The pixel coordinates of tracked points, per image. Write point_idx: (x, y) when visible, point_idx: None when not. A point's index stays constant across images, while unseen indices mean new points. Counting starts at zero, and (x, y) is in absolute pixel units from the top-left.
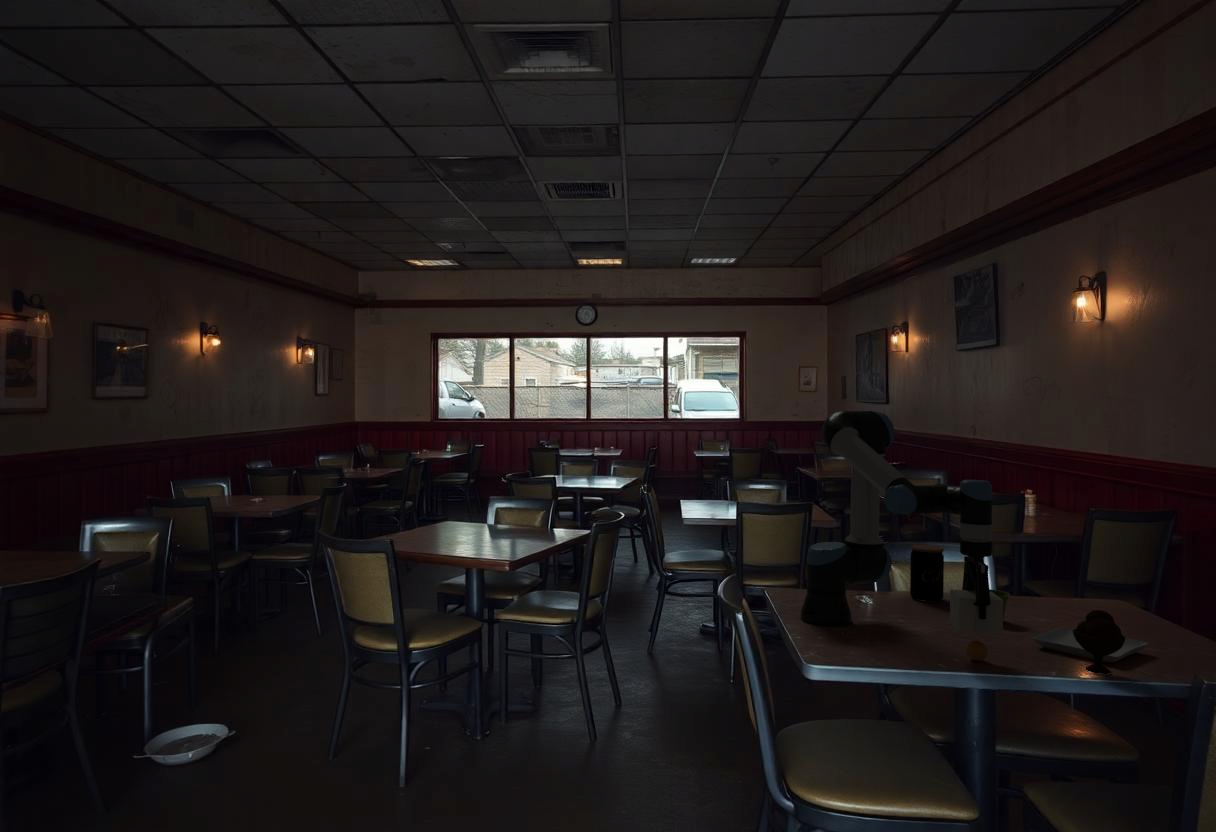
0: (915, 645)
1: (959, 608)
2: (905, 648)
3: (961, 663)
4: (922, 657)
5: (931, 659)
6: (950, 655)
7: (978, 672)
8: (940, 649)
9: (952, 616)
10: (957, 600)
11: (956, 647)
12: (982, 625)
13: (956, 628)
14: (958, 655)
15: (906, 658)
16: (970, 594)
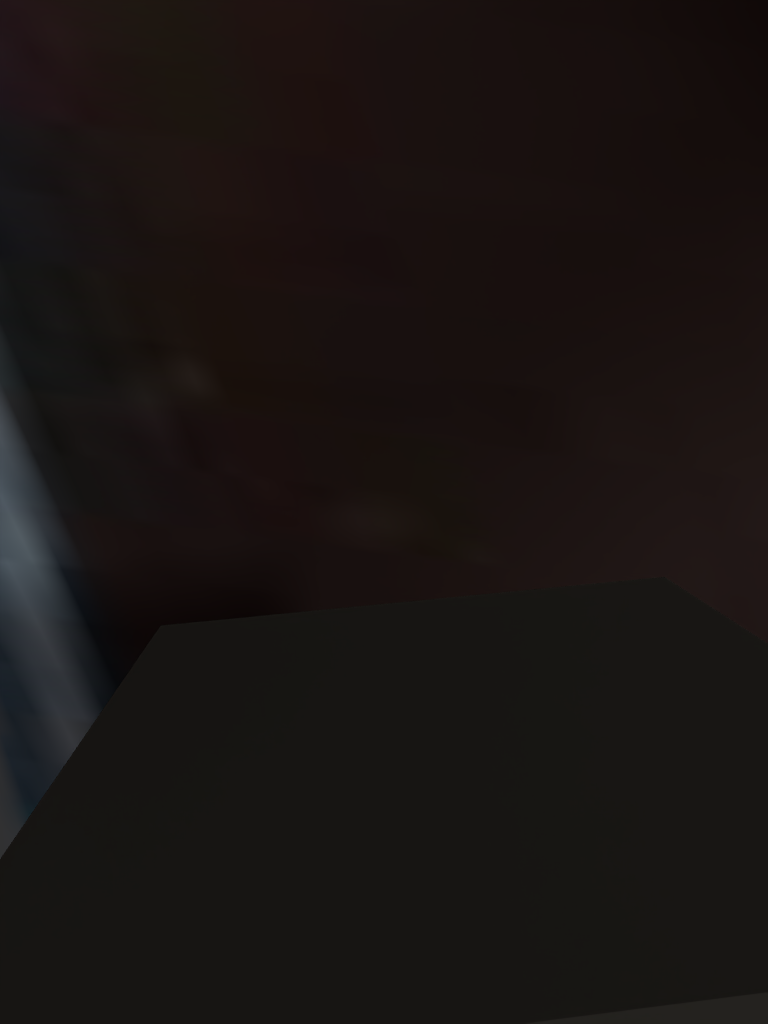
0: (707, 234)
1: (17, 842)
2: (587, 125)
3: (281, 551)
4: (343, 253)
5: (309, 326)
6: (479, 496)
7: (88, 640)
8: (633, 438)
9: (569, 634)
10: (169, 940)
11: (722, 570)
12: None
13: (310, 616)
14: (498, 556)
15: (259, 96)
16: None
